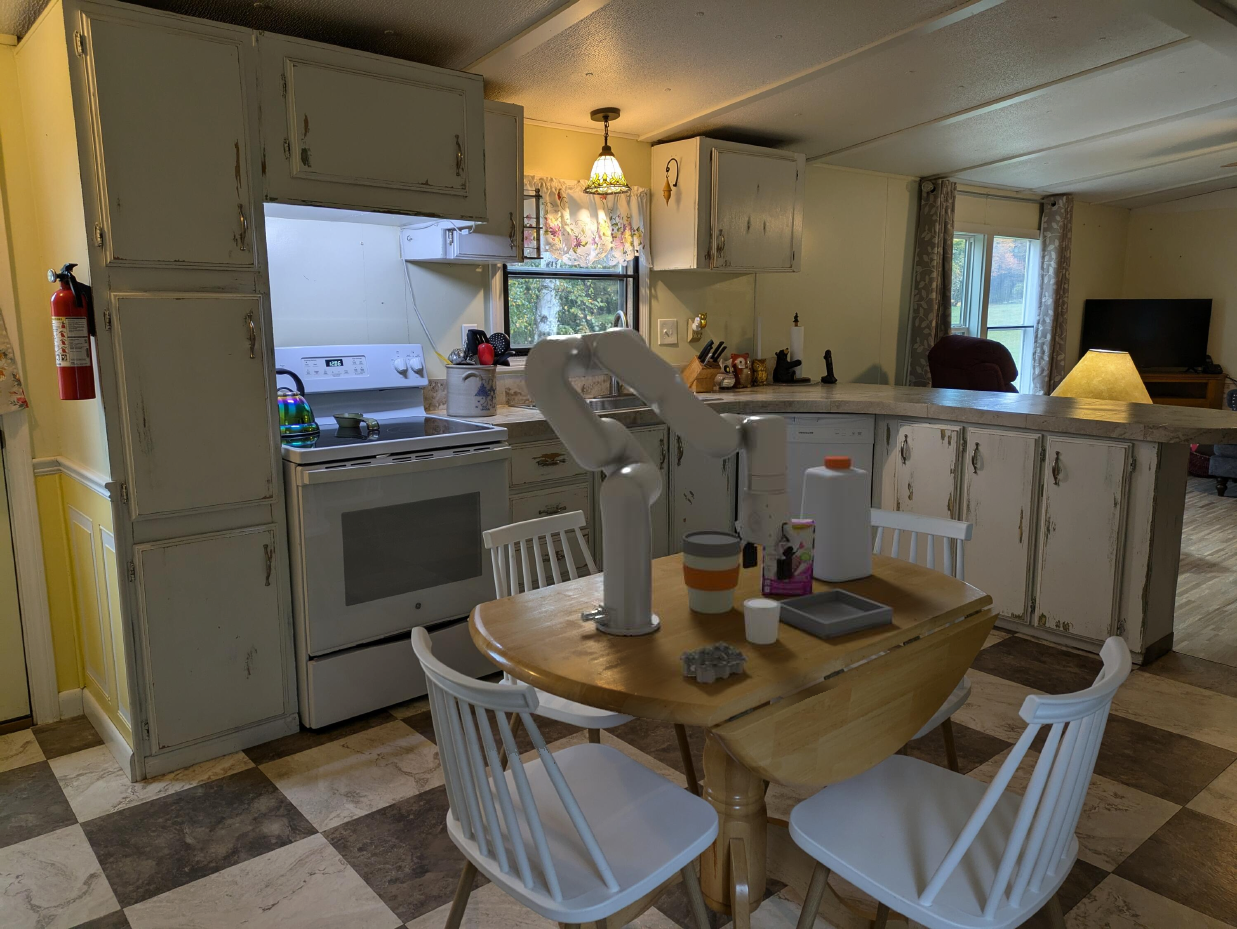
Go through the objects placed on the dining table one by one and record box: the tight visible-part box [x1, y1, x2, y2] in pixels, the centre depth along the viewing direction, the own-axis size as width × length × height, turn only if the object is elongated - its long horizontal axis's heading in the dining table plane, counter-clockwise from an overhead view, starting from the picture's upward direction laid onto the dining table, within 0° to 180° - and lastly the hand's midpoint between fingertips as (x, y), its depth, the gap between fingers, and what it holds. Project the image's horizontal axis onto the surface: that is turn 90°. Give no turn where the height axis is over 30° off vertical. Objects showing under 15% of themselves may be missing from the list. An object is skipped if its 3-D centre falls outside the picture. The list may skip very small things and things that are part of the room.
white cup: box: [743, 597, 781, 645], centre depth 159 cm, size 7×7×7 cm
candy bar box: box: [760, 518, 815, 596], centre depth 186 cm, size 11×5×16 cm, turn 84°
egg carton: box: [678, 640, 749, 684], centre depth 144 cm, size 11×8×4 cm
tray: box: [776, 588, 894, 640], centre depth 169 cm, size 18×15×3 cm
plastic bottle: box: [799, 455, 873, 583], centre depth 200 cm, size 15×15×28 cm
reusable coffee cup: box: [681, 529, 742, 614], centre depth 177 cm, size 13×13×15 cm
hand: (766, 573), depth 157 cm, fingers open, 9 cm apart
